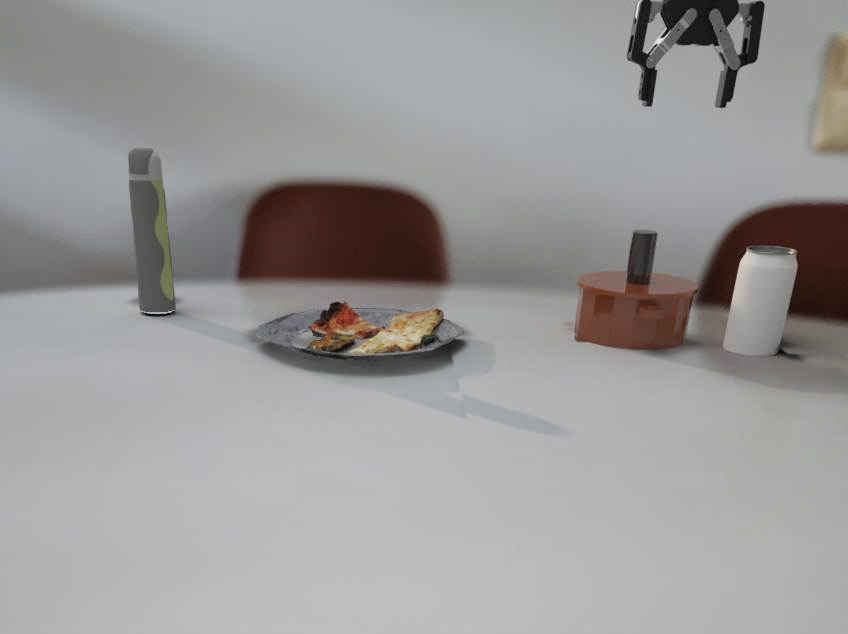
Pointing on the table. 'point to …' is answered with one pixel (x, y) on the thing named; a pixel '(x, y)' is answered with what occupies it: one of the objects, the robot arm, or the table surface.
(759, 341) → the can
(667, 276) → the cover
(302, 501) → the table surface
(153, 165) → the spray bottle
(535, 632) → the table surface
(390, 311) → the food plate
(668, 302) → the dish
